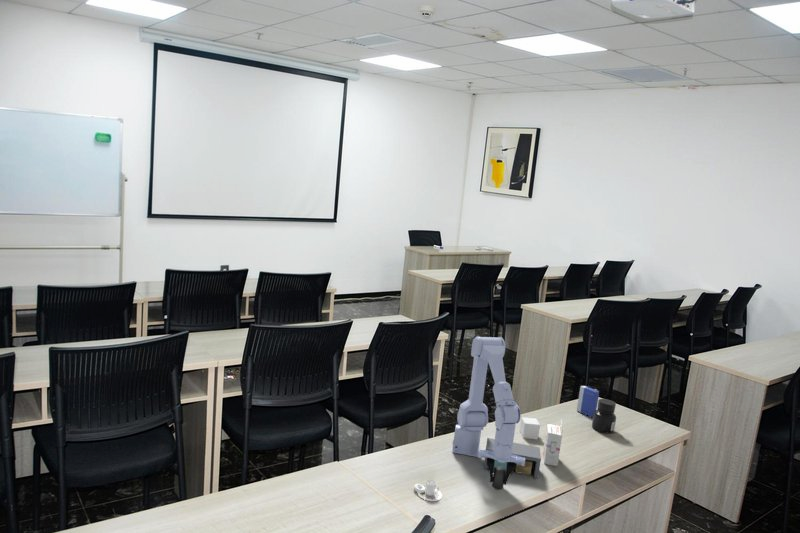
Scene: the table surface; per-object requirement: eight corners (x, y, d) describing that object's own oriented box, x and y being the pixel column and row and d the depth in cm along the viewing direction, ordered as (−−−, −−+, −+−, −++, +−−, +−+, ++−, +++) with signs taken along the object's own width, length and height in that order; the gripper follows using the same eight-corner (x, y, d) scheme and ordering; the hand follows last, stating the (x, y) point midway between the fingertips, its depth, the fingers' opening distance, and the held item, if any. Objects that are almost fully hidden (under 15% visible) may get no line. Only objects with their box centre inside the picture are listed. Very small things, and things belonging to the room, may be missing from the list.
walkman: (595, 416, 257) (599, 390, 255) (591, 417, 255) (596, 391, 253) (579, 410, 263) (583, 384, 261) (576, 411, 261) (580, 385, 259)
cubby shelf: (483, 468, 197) (486, 448, 196) (484, 457, 206) (487, 437, 205) (537, 479, 194) (540, 458, 193) (536, 466, 203) (539, 447, 202)
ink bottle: (617, 435, 238) (622, 407, 237) (595, 433, 238) (600, 405, 237) (609, 425, 248) (613, 398, 246) (588, 423, 248) (592, 396, 246)
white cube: (534, 432, 232) (536, 418, 231) (538, 439, 226) (540, 424, 225) (519, 431, 232) (521, 417, 231) (522, 438, 226) (524, 423, 225)
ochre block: (515, 472, 197) (517, 459, 197) (515, 465, 202) (516, 453, 202) (530, 474, 197) (532, 462, 196) (529, 468, 202) (531, 455, 201)
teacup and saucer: (409, 490, 179) (410, 478, 178) (429, 485, 183) (430, 472, 183) (427, 505, 172) (429, 492, 171) (447, 498, 176) (449, 486, 176)
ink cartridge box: (542, 453, 214) (548, 415, 212) (556, 456, 213) (562, 417, 211) (543, 464, 206) (549, 424, 203) (557, 466, 205) (564, 427, 203)
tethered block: (489, 487, 185) (491, 469, 184) (491, 465, 200) (494, 449, 199) (505, 490, 184) (507, 473, 183) (506, 468, 199) (508, 451, 198)
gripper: (480, 442, 181) (474, 483, 183) (527, 451, 179) (521, 492, 181) (481, 433, 188) (475, 473, 190) (526, 442, 186) (521, 481, 187)
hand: (498, 482), depth 186 cm, fingers closed on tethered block, 4 cm apart
